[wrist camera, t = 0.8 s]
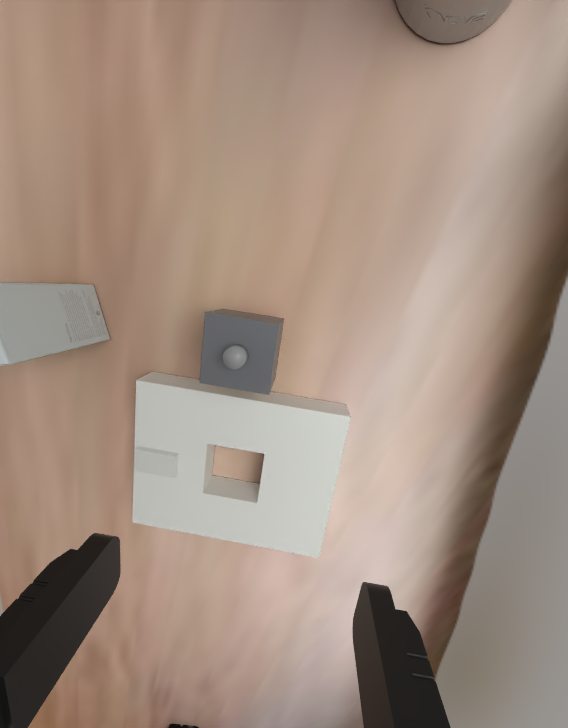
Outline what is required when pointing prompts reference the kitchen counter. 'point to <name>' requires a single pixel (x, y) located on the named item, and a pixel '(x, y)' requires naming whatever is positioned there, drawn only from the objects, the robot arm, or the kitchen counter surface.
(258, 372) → the plug
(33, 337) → the small box
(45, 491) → the kitchen counter surface
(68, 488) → the kitchen counter surface
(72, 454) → the kitchen counter surface
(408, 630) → the robot arm
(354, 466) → the kitchen counter surface
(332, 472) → the socket plate
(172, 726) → the multiport hub
